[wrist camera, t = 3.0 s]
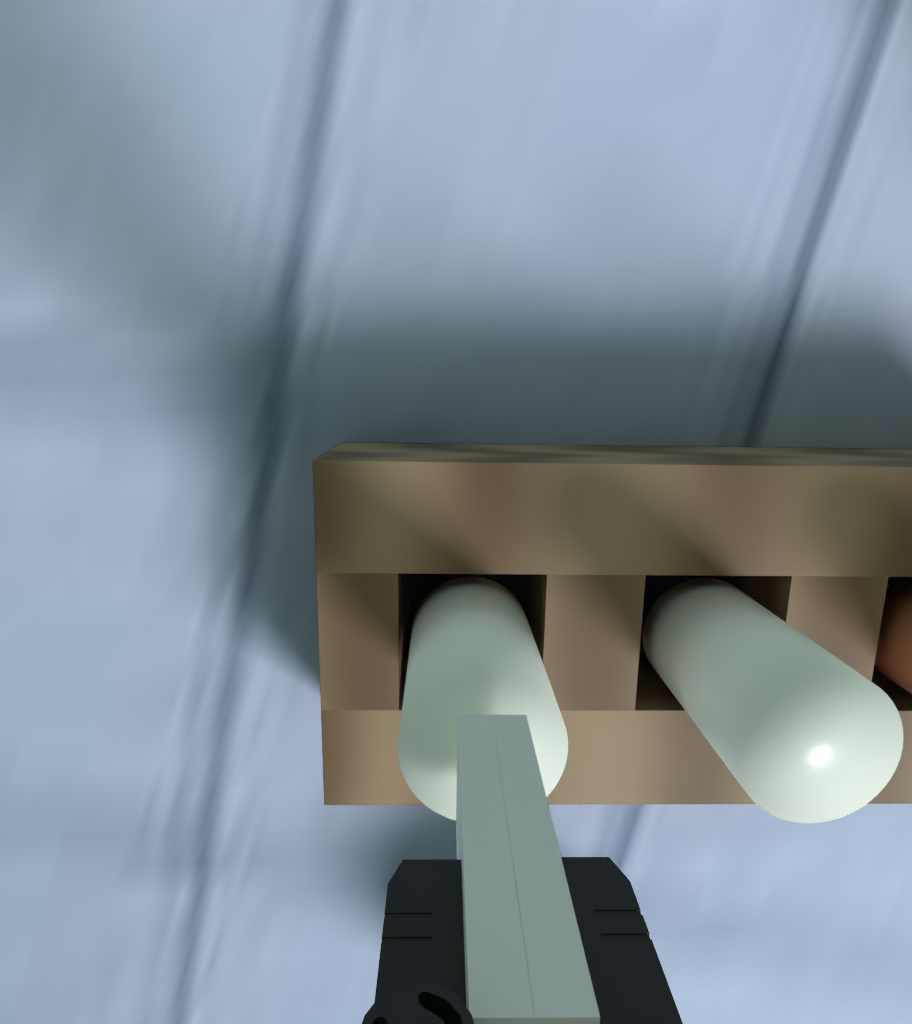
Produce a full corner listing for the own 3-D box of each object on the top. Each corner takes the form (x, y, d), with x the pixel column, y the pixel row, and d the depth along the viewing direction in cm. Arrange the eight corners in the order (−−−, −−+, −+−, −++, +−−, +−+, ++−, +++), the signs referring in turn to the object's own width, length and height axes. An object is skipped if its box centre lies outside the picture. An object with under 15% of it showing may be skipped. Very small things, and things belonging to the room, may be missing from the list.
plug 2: (638, 685, 22) (727, 823, 15) (646, 577, 21) (745, 671, 14) (749, 685, 22) (889, 823, 15) (762, 578, 21) (916, 671, 14)
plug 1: (412, 685, 22) (398, 824, 15) (411, 575, 21) (396, 670, 14) (525, 685, 22) (563, 823, 15) (529, 576, 21) (572, 670, 14)
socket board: (349, 714, 27) (324, 804, 21) (343, 442, 25) (312, 460, 19) (926, 714, 28) (1055, 803, 22) (975, 449, 26) (1134, 469, 20)
